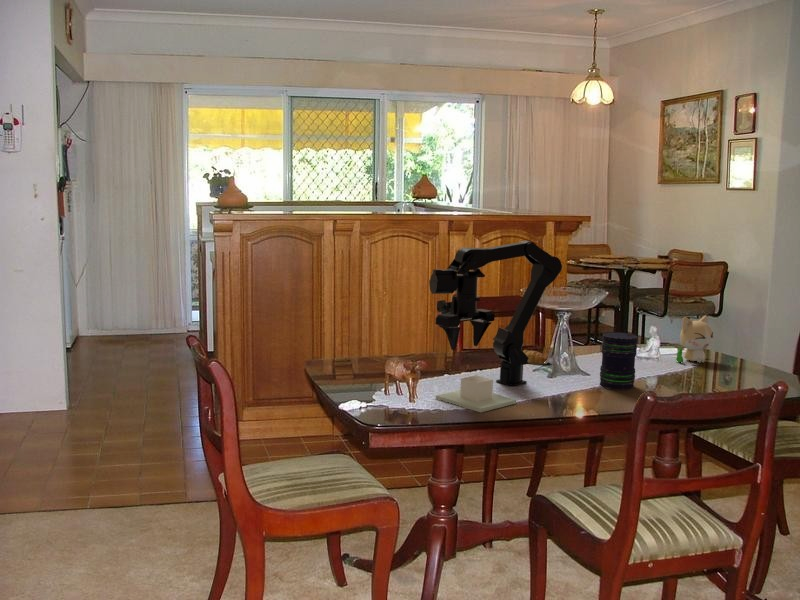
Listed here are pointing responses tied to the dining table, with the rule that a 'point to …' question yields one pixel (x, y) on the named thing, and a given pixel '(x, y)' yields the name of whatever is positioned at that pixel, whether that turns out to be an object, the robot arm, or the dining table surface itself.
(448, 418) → the dining table surface
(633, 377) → the storage jar
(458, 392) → the stub plate
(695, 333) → the kitten
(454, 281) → the robot arm
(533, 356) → the pastry
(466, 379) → the block
